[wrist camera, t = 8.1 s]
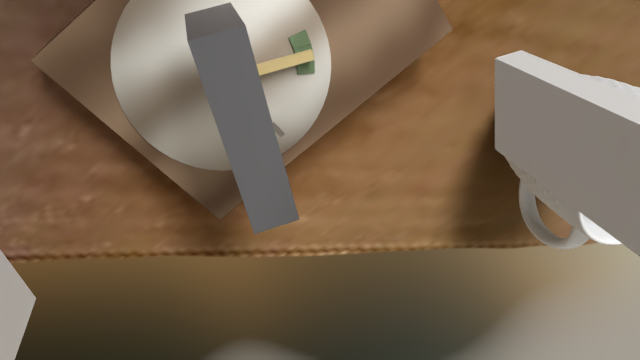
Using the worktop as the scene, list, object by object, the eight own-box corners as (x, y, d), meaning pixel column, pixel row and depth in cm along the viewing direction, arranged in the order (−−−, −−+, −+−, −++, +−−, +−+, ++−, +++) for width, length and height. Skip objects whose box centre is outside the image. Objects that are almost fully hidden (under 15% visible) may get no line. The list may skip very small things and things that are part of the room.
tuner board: (45, 44, 31) (28, 62, 27) (305, -195, 29) (325, -211, 25) (215, 193, 39) (219, 222, 36) (427, 19, 37) (455, 30, 33)
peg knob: (232, 147, 33) (254, 234, 24) (182, 0, 28) (187, 40, 19) (324, 119, 34) (378, 193, 25) (292, -29, 29) (347, -3, 20)
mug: (545, 199, 50) (650, 280, 39) (453, 204, 47) (539, 293, 36) (598, 58, 43) (744, 107, 32) (495, 52, 40) (617, 105, 29)
